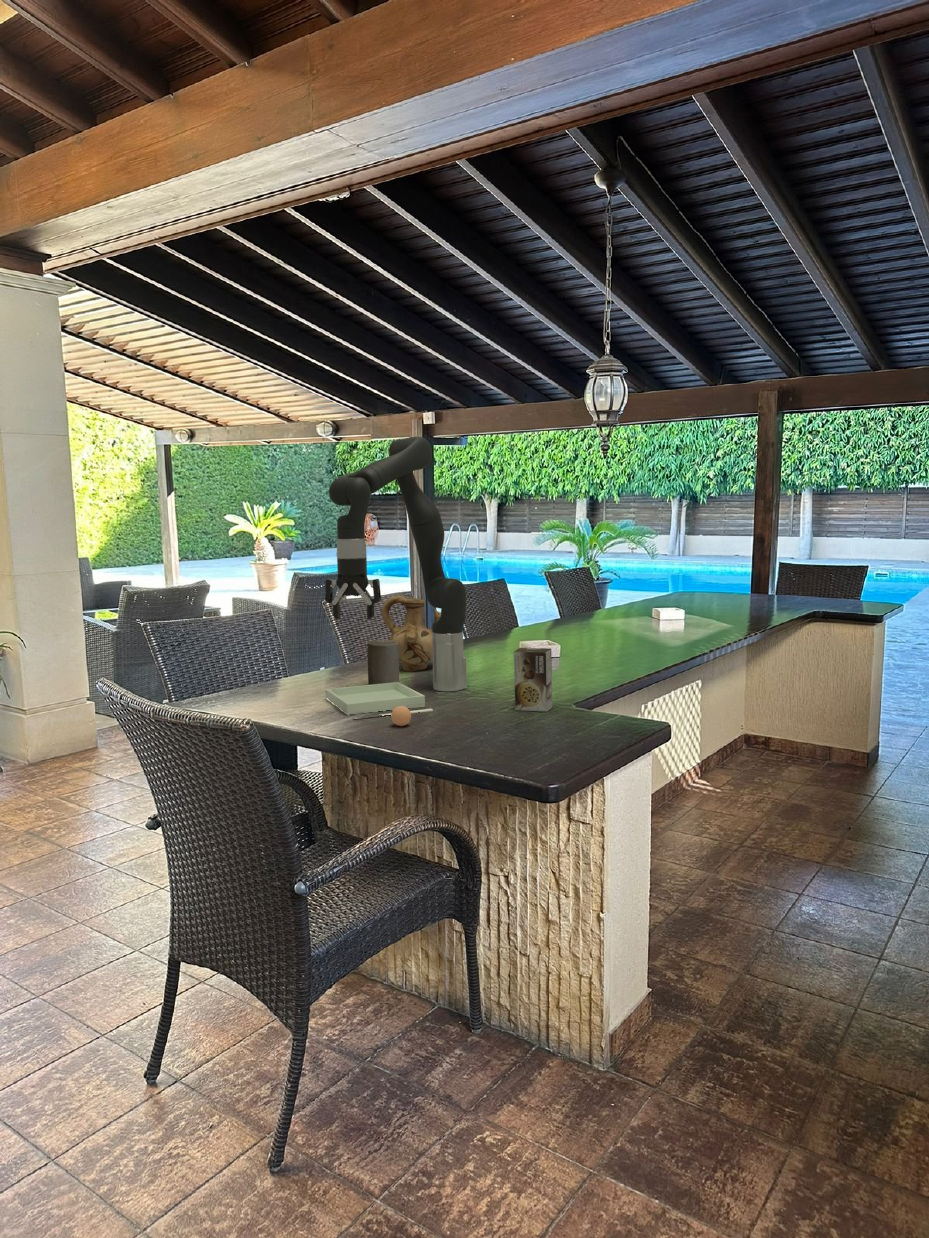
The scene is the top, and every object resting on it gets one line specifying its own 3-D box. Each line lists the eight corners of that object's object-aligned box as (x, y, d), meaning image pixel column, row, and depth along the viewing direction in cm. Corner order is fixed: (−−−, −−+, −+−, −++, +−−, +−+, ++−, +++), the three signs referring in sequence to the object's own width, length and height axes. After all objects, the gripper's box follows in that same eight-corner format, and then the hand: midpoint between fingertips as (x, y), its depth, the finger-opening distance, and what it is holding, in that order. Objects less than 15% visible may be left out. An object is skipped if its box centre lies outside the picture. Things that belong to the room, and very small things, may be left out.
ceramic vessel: (412, 676, 285) (410, 599, 282) (373, 669, 298) (371, 595, 295) (451, 668, 298) (450, 594, 295) (412, 662, 311) (411, 591, 308)
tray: (398, 691, 261) (397, 681, 260) (425, 706, 241) (424, 695, 240) (325, 699, 252) (325, 689, 252) (347, 715, 232) (347, 704, 232)
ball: (407, 722, 223) (406, 703, 223) (414, 726, 219) (413, 707, 218) (388, 724, 221) (388, 705, 221) (395, 729, 217) (394, 709, 216)
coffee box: (553, 706, 238) (552, 648, 236) (547, 712, 232) (546, 651, 230) (520, 705, 241) (519, 646, 239) (513, 710, 235) (513, 650, 233)
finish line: (430, 709, 237) (430, 708, 237) (433, 710, 235) (433, 709, 235) (352, 718, 228) (352, 717, 228) (353, 720, 227) (353, 719, 227)
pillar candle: (362, 688, 267) (361, 639, 265) (377, 682, 276) (376, 634, 274) (390, 690, 263) (390, 641, 261) (405, 684, 272) (404, 636, 270)
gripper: (382, 555, 228) (384, 617, 230) (329, 555, 230) (331, 617, 232) (374, 557, 220) (376, 621, 222) (320, 557, 223) (322, 620, 225)
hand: (353, 619), depth 227 cm, fingers open, 8 cm apart
